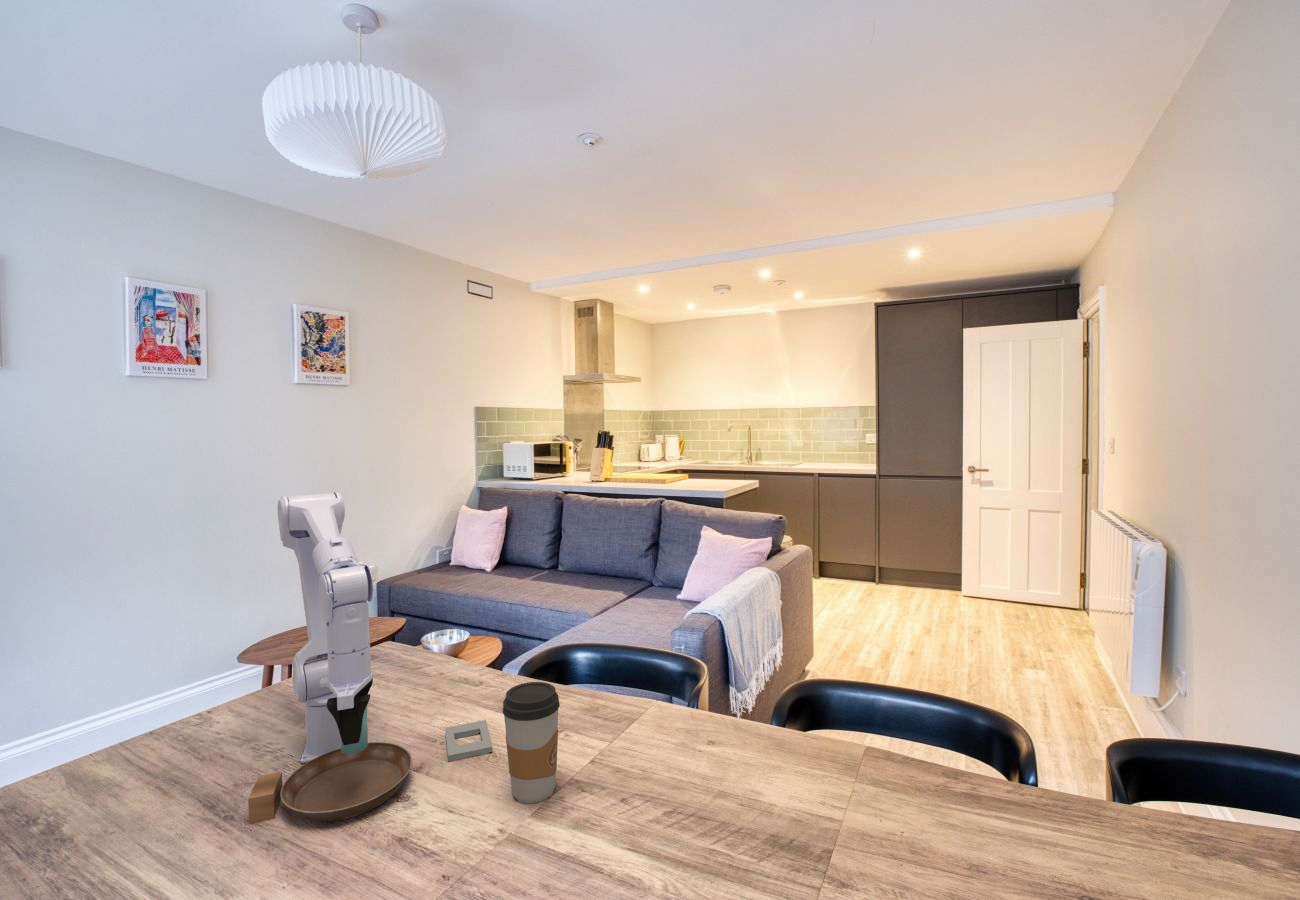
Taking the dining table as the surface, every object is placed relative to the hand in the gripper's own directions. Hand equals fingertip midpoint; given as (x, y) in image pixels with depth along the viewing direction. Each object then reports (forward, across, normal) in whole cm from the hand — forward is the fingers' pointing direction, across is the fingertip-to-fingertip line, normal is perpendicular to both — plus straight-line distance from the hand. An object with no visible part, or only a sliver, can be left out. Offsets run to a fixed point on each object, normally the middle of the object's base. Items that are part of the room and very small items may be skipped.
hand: (352, 736), depth 91 cm
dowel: (+2, 0, 0) cm, 2 cm away
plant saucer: (+9, 0, -1) cm, 9 cm away
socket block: (+8, -8, +17) cm, 20 cm away
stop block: (+8, 0, -12) cm, 14 cm away
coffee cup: (+8, +11, +25) cm, 29 cm away
